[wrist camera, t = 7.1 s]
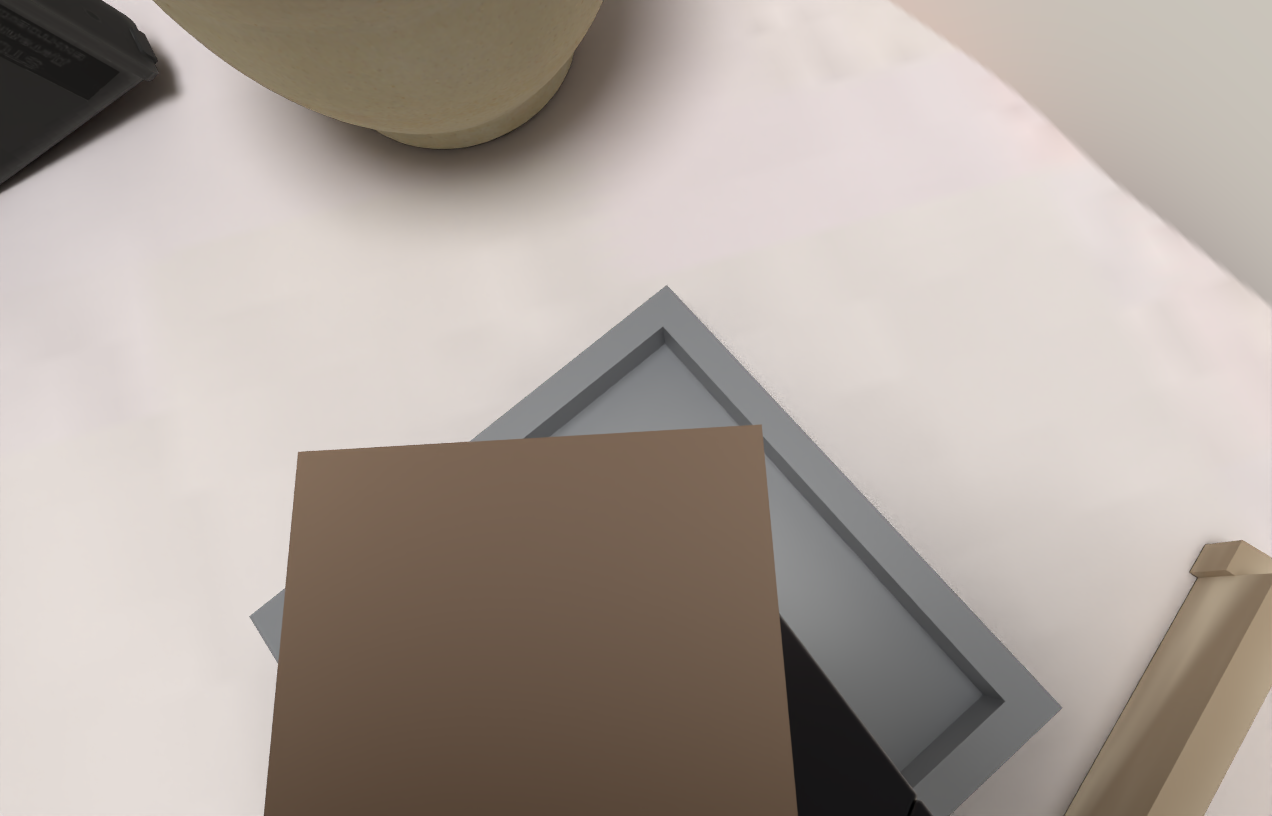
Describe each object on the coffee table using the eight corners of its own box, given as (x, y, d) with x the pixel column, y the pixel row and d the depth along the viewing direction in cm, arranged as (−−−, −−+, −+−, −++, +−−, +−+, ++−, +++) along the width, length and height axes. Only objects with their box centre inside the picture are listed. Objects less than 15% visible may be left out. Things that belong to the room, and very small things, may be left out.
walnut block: (710, 575, 15) (763, 424, 3) (723, 779, 14) (897, 1910, 2) (618, 580, 16) (297, 451, 3) (625, 781, 14) (165, 1855, 2)
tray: (1028, 698, 20) (1062, 707, 18) (594, 1107, 19) (582, 1164, 17) (669, 310, 25) (667, 285, 23) (286, 615, 23) (249, 616, 21)
